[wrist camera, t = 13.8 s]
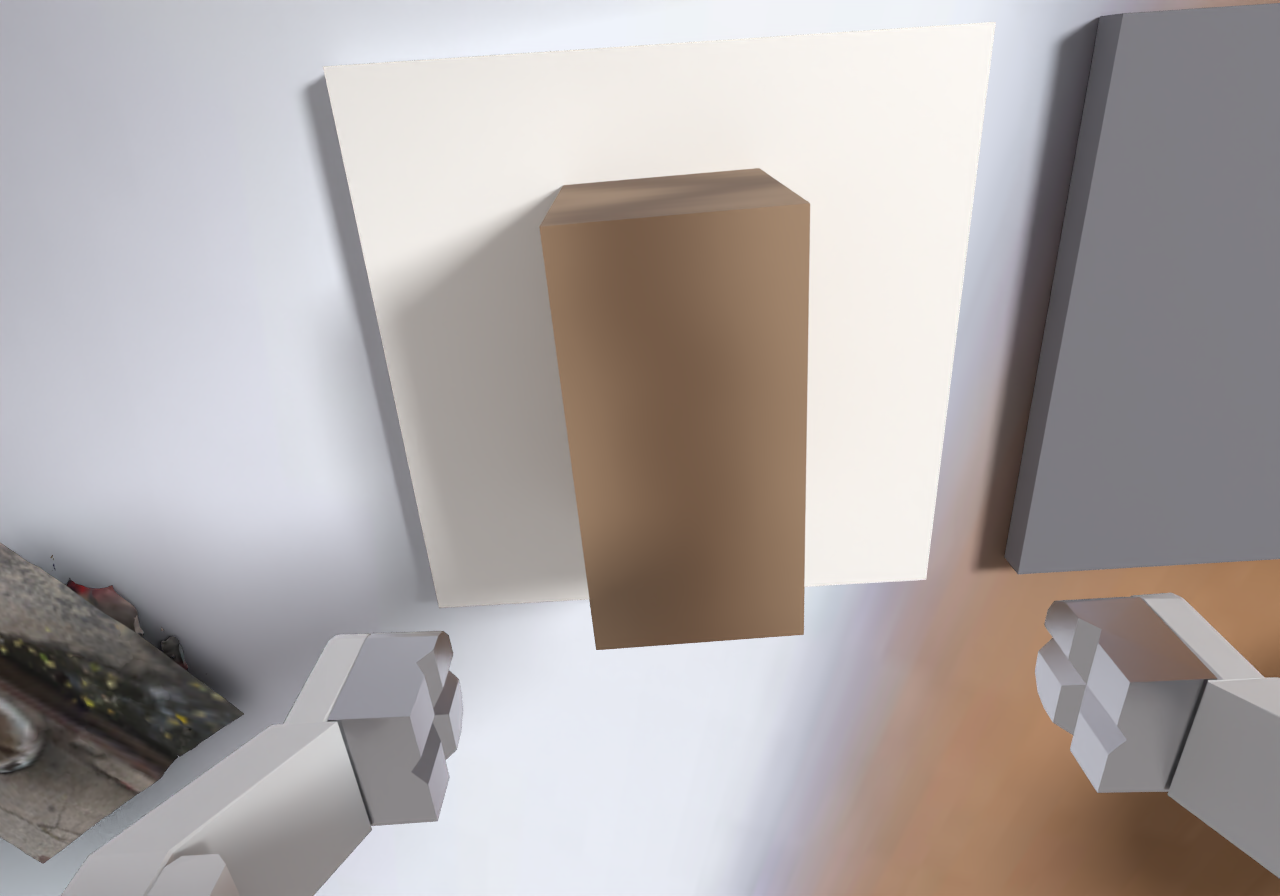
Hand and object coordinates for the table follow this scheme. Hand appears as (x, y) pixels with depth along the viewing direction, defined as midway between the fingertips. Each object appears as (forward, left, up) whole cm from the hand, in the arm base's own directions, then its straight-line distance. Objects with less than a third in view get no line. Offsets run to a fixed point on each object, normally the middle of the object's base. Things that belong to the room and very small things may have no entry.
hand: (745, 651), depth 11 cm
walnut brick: (0, 0, -12) cm, 12 cm away
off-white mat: (0, 0, -13) cm, 13 cm away
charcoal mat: (-19, 0, -13) cm, 23 cm away
